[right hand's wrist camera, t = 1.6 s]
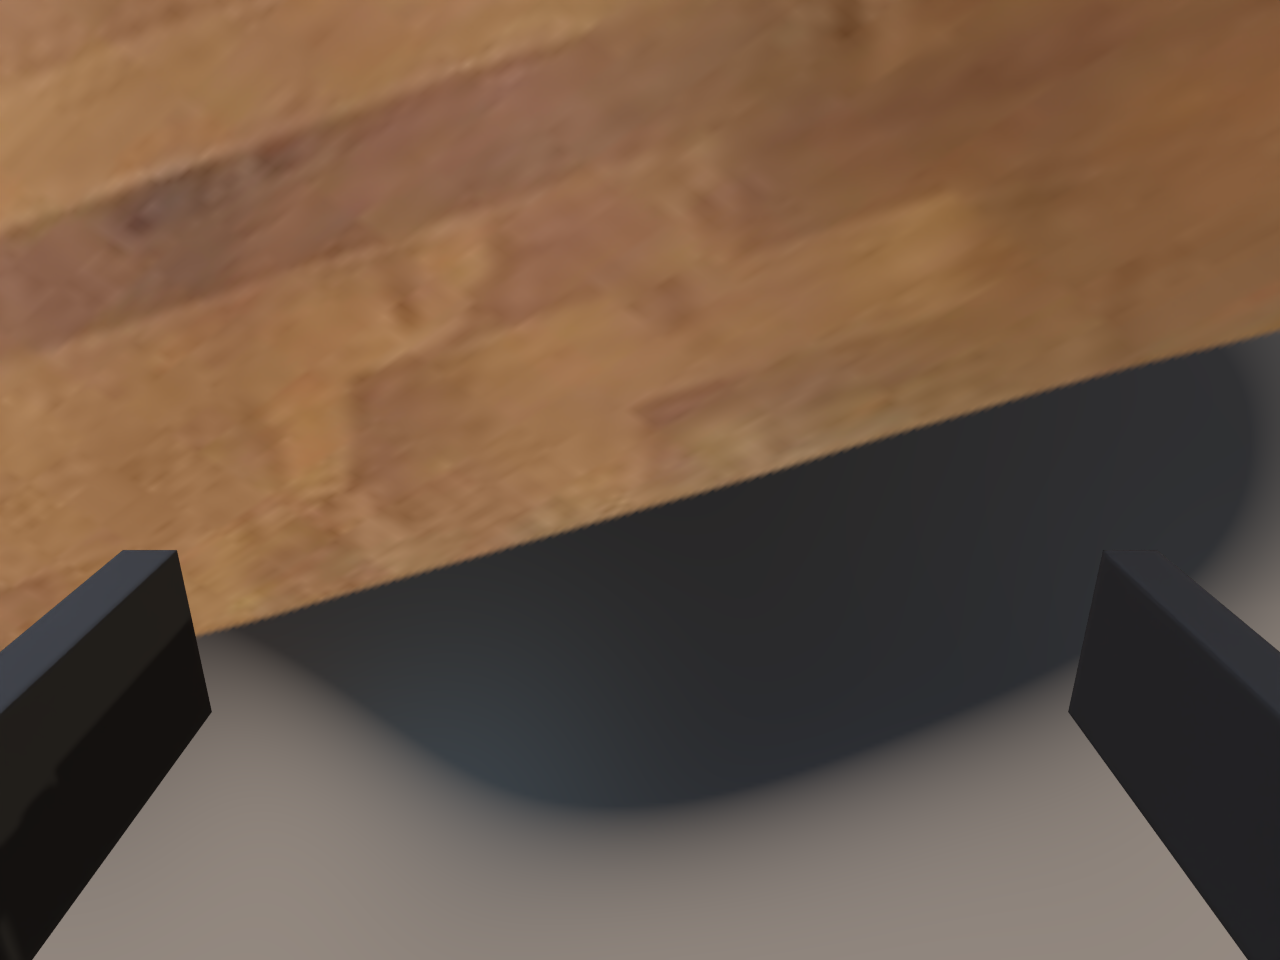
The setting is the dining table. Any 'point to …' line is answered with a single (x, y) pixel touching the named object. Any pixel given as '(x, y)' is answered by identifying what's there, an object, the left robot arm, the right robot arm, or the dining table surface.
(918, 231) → the dining table surface
